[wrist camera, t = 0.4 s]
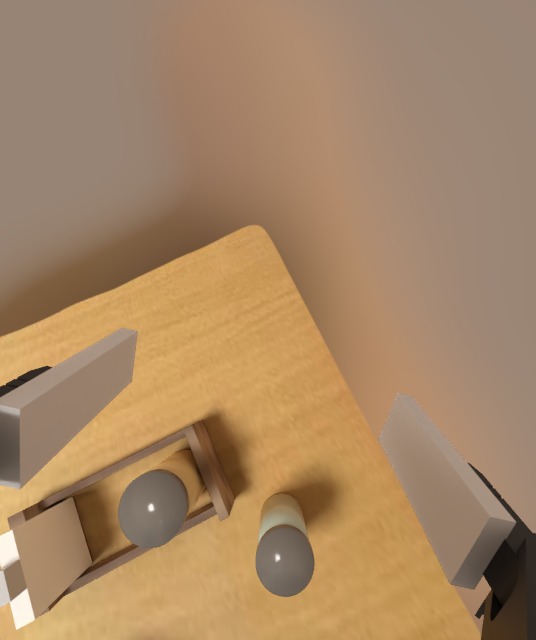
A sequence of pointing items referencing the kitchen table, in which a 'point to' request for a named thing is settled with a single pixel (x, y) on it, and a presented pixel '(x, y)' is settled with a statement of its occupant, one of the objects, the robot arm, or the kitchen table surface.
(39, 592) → the plate
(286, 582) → the sage jar
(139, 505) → the amber jar
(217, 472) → the wooden spice rack
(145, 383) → the kitchen table surface
